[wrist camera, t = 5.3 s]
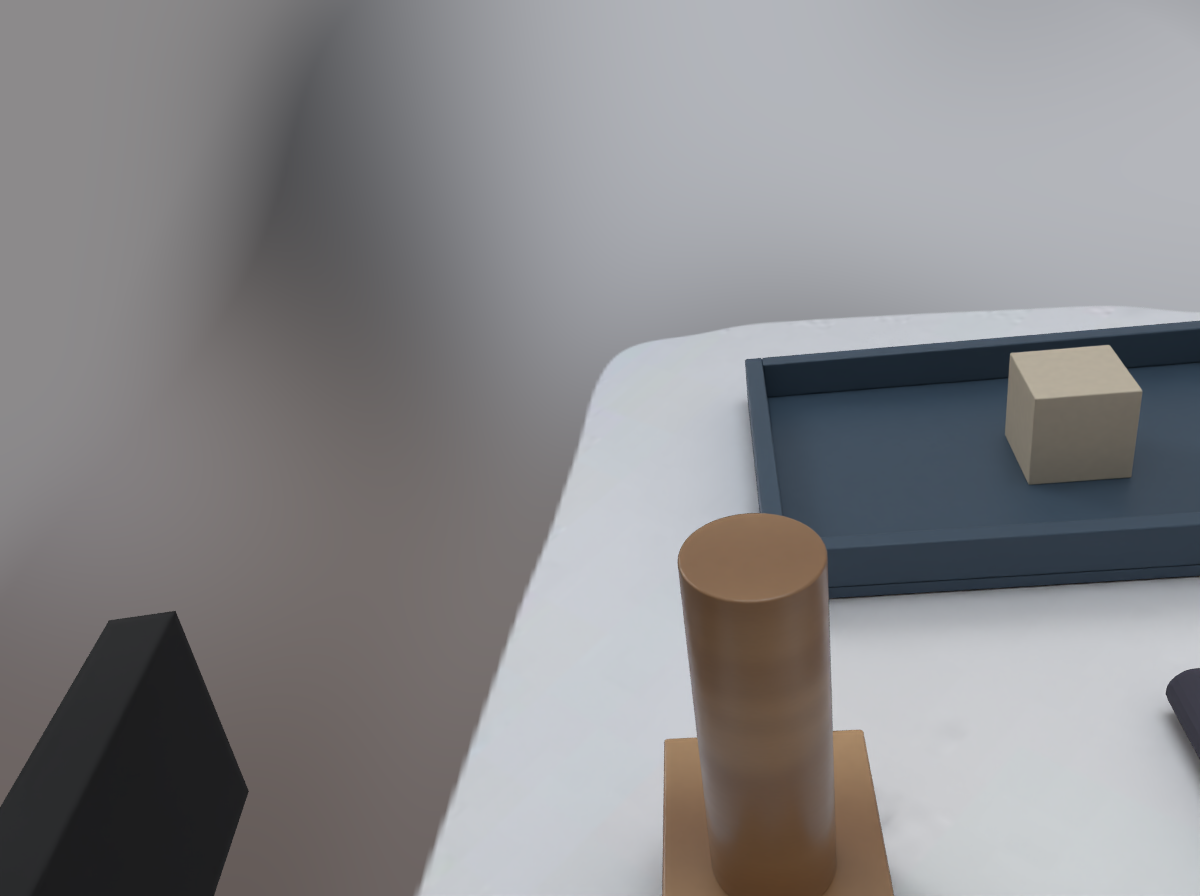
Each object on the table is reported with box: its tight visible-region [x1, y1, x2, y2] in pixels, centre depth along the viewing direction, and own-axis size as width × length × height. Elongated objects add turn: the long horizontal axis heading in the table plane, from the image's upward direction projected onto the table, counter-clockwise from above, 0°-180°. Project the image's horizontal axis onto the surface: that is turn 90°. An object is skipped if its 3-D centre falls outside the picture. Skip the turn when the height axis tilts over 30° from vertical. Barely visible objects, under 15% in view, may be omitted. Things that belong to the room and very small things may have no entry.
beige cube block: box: [1005, 345, 1143, 485], centre depth 47 cm, size 4×4×4 cm
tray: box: [745, 321, 1200, 598], centre depth 48 cm, size 25×16×2 cm, turn 86°
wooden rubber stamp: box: [662, 513, 894, 896], centre depth 27 cm, size 8×5×14 cm, turn 176°
